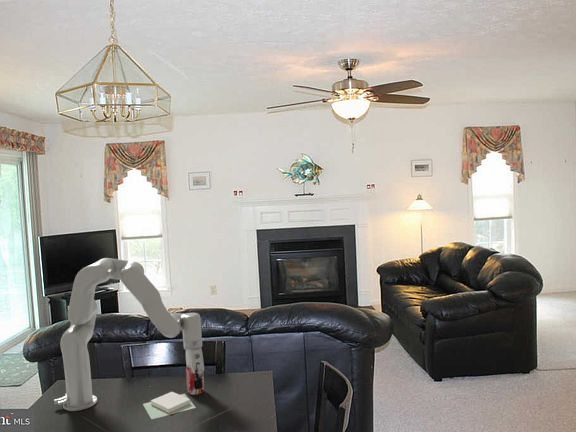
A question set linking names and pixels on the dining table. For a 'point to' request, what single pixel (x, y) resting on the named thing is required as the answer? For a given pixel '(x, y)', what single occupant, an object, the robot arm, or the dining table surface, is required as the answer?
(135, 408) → the dining table surface
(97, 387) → the dining table surface
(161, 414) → the mat
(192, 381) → the soda can
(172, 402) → the tile
